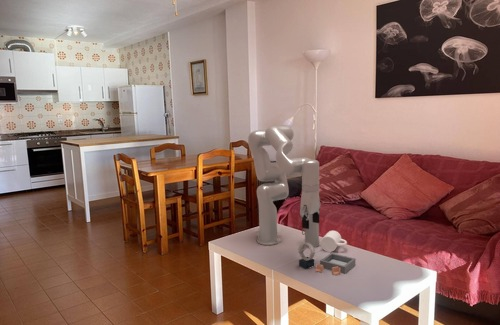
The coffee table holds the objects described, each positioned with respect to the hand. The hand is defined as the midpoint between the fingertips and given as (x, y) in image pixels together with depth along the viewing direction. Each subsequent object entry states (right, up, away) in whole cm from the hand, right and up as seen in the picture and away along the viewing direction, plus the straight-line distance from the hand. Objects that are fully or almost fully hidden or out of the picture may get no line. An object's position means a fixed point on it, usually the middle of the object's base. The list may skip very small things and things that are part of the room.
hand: (310, 225), depth 170 cm
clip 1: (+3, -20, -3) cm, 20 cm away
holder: (+13, -19, +2) cm, 23 cm away
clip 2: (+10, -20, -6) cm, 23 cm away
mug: (+16, -16, +22) cm, 32 cm away
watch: (-2, -19, +3) cm, 19 cm away
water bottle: (+4, -15, +29) cm, 33 cm away
